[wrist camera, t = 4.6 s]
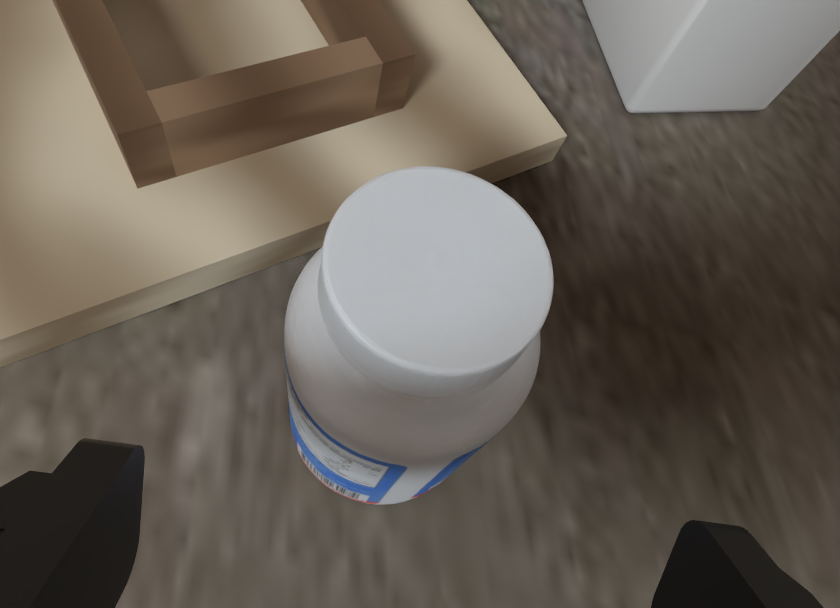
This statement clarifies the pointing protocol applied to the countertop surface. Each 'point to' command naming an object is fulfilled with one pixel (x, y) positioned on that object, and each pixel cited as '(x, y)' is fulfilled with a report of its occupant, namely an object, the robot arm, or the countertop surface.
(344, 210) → the pill bottle
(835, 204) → the countertop surface
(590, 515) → the countertop surface
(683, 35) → the medicine bottle
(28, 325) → the collar board
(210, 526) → the countertop surface
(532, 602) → the countertop surface
